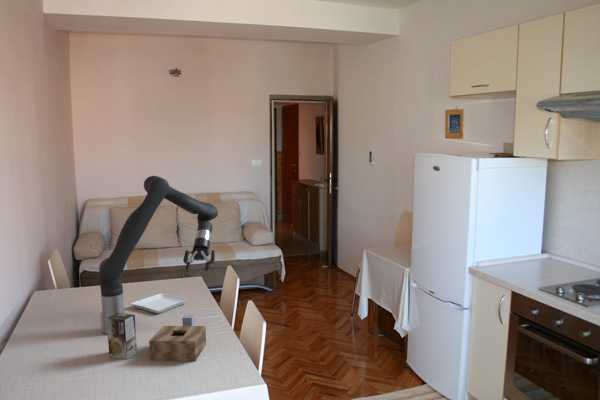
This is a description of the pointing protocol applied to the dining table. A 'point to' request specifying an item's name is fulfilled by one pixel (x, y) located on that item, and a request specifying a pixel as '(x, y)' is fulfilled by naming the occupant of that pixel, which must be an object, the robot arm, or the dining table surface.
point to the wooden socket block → (177, 343)
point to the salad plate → (159, 303)
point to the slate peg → (188, 320)
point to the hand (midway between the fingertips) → (196, 270)
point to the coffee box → (121, 335)
